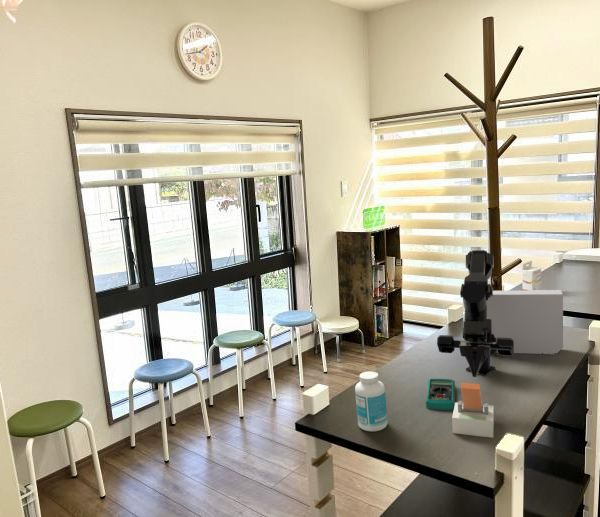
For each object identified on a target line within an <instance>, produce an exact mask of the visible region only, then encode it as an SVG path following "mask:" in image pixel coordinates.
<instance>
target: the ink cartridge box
mask: <svg viewBox="0 0 600 517" xmlns="http://www.w3.org/2000/svg"><path fill="white" fill-rule="evenodd" d="M532 263H533V261H532V260H530V261H526V262H524V263H522V274H521V276H522V277H521V278H522V279H521V280H522V282H521V283H522V284H521V285H522V291H527V290H542V267H534V266H532Z"/></svg>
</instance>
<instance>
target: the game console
mask: <svg viewBox="0 0 600 517" xmlns="http://www.w3.org/2000/svg"><path fill="white" fill-rule="evenodd" d="M486 305H487V319H491V320H492V334H494V336H495V338H496V339H497V337H502V338H512V339H513V340H514V354H529V355H530V354H531V355H532V354H533V355H535V354H536V355H537V354H538V355H549V354H548V353H556V354H558V353H559V352H560V351H561V350H562V349H563V348H564V293H563V292H562V290H561V289H541V290H527V291H523V290H493V296H491V297H490V298H488V300H487V301H486ZM496 353H498V350H497V352H496ZM542 353H543V354H542Z"/></svg>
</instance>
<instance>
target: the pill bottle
mask: <svg viewBox="0 0 600 517" xmlns="http://www.w3.org/2000/svg"><path fill="white" fill-rule="evenodd" d="M379 378H380V377H379V373H378V372H376V371H369V370H368V371H363V372H361V373H360V374H359V382H357V383H356V384H355V387H354V393H355V403H356V415H357V416H356V417H357V424H358V427H359V428H360V429H361V430H364V431H366V432H378V431H382V430H384V429H385V428H386V427H387V425H388V424H389V423H388V408H387V399H386V398H387V397H386V396H387V394H386V386H385V384H384V383H383V382H382V381H380V380H379Z"/></svg>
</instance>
